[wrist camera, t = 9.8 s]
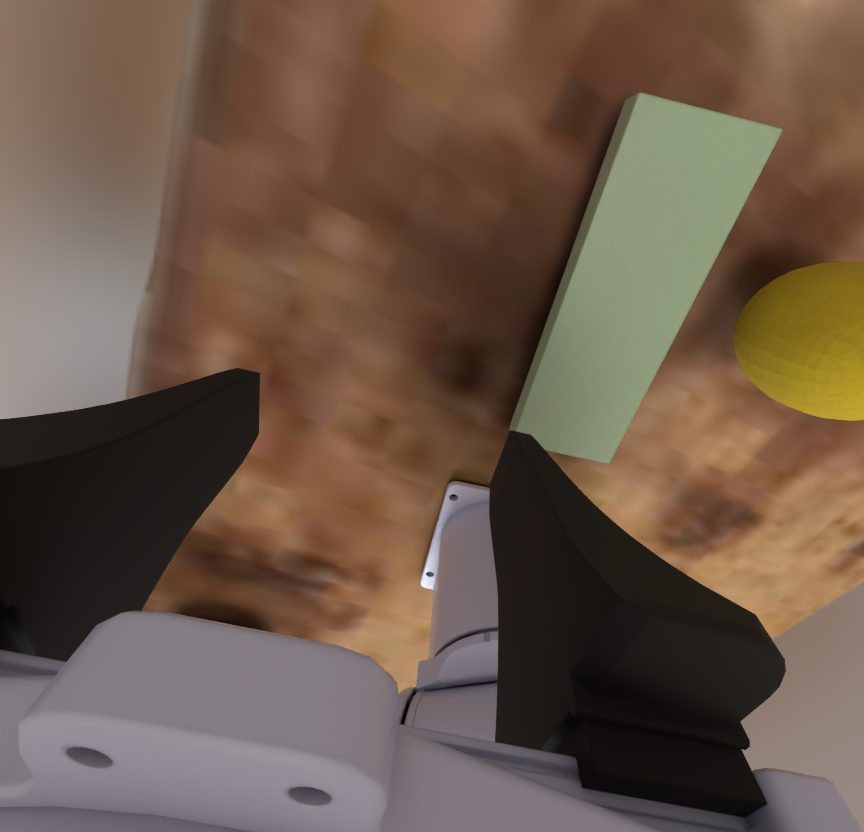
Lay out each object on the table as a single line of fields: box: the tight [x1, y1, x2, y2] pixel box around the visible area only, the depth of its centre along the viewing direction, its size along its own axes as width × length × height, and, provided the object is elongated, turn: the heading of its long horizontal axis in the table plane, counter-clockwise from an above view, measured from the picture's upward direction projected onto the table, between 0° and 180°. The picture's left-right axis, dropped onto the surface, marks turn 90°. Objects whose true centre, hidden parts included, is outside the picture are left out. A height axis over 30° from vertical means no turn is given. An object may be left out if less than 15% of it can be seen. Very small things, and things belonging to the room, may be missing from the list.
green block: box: [509, 92, 783, 464], centre depth 19 cm, size 14×5×3 cm, turn 168°
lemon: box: [733, 262, 864, 420], centre depth 16 cm, size 6×6×8 cm
